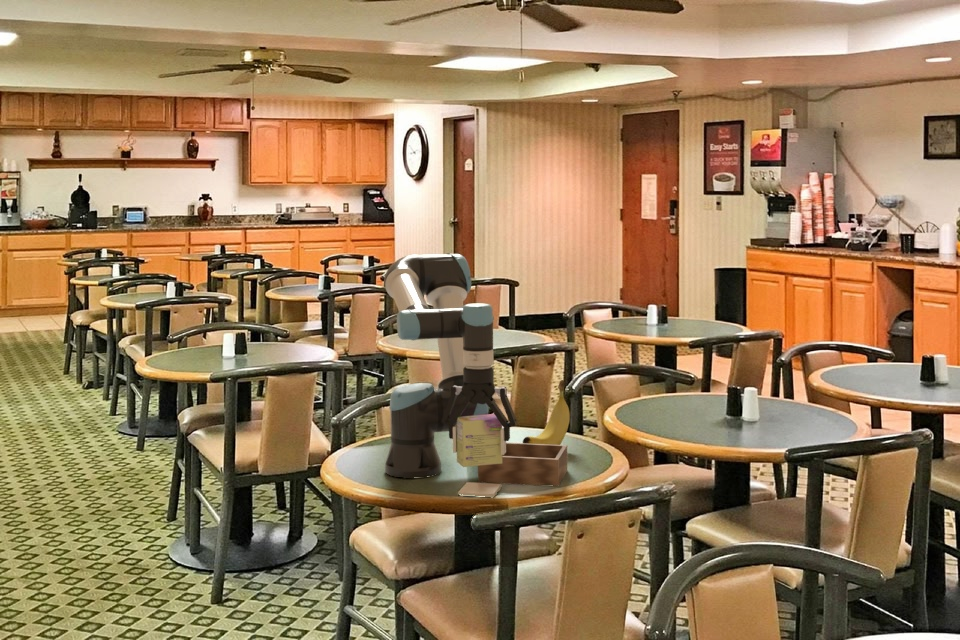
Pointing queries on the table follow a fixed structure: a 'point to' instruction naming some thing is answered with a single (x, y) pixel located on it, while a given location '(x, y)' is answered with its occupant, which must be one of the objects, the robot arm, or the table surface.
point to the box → (478, 440)
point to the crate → (527, 465)
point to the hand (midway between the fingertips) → (479, 452)
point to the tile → (480, 489)
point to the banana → (554, 423)
